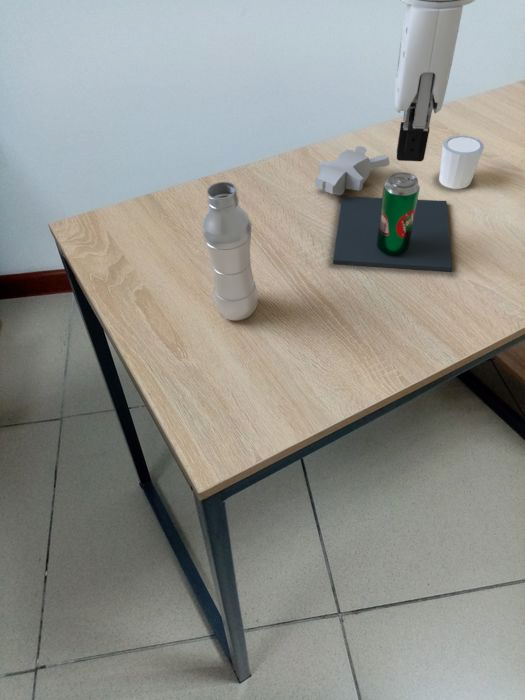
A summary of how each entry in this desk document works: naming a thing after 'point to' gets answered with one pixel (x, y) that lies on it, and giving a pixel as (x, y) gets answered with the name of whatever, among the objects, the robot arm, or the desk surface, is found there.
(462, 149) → the shot glass
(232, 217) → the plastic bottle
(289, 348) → the desk surface
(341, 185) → the grey irregular branched block
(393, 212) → the soda can
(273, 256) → the desk surface
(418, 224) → the mat
